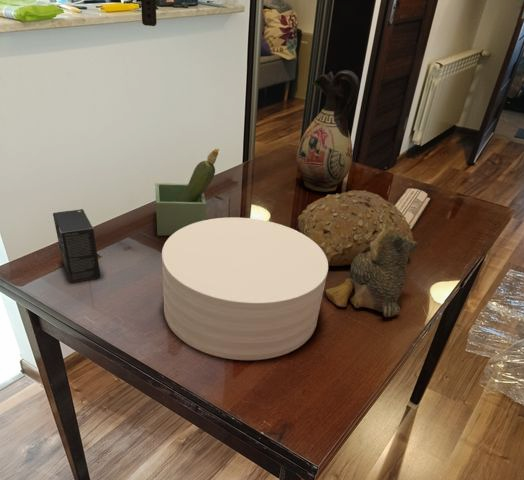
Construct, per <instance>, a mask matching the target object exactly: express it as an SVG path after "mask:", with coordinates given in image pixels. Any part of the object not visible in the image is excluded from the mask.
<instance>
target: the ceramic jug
mask: <svg viewBox="0 0 524 480" xmlns="http://www.w3.org/2000/svg"><path fill="white" fill-rule="evenodd" d="M342 80H345V81H347V82H349V84H350V94H349V96H348V98H347V100H346V103H345V106H344V108H343V110H342V111H341V108H340V107H341V106H340V100H345V98H346V97H345V96H346V93H345V90H344V88H343V86H342V84H341V81H342ZM312 85H313V86H314V87H316V88H318V89H319V90H321V92H323V94H324V96H325V97H326V101H325V104H324V107H323V108H322V109H321V111H320V112H319V113H318V114H317V115H316V117H315V118H314V119H313V121H311V123H310V124H309V126H308V127H307V128H306V130H305V132H304V133H303V135H302V137H301V140H300V142H299V145H298V149H297V151H296V157H295V159H296V160H295V161H296V168H297V171H298V173H299V175H300V176H301V178H302V180H303V184H304V186H305V187H306V188H307V189H310V190H312V191H315V192H323V193H324V192H326V193H327V192H335V191H336V190H337V188H338V185H339V184H340V183H341V182H342V181H343V180H345V179H346V177H347V176H348V175H349V173H350V171H351V168H352V165H353V156H354V154H353V151H354V149H353V142H352V138H351V135H350V131H349V123H348V122H349V121H348V117H349V115H350V112H351V110H352V108H353V106H354V104H355V102H356V100H357V98H358V95H359V91H360V79H359V77H358V76H357V74H356V73H355V72H353V71H351V70H347V69H343V70H340V71H338V72H337V73H336V74H335V75H334V73H333V71H330V72H328V73H327V74H325V73H322V74H321V75H320V76H318V77H317V78H316V80H314V81H313V82H312Z"/></svg>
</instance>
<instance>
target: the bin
mask: <svg viewBox="0 0 524 480" xmlns="http://www.w3.org/2000/svg"><path fill="white" fill-rule="evenodd" d="M188 184H189V183H169V182H167V183H166V182H155V183H154V186H155V187H154V188H155V211H156V214H155V215H156V233H157V235H156V236H169V237H170V236H171V235H172V234H174V233H175V232H176V231H178V230H180V229H181V228H183V227H185V226H188V225H190V224H193V223H196V222H200V221H204V220H207V202H206V197H205V192H204V193H203V194H202V195H201V196H200V197H199V199H198V200H197V201H196V202H176V200H177V199H178V198H179V196H180V195H181V194H182V193H183V192H184V190H185V189H186V187H187V185H188Z"/></svg>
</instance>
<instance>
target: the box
mask: <svg viewBox="0 0 524 480" xmlns="http://www.w3.org/2000/svg"><path fill="white" fill-rule="evenodd" d="M52 216H53V222H54V227H55V232H56V236H57V242H58V246H59V251H60V257H61V261H62V264H63V266H64V269H65V271H66V274H67V276H68V279H69V281H70V282H71V283H76V282H83V281H88V280H94V279H98V278H101V270H100V265H99V258H98V250H97V243H96V237H95V228H94V226H93V225H92V223H91V221H90V220H89V218H88V216H87V214H86V212H85V210H84V209H83V208H81V209H73V210H64V211H57V212H53V213H52Z"/></svg>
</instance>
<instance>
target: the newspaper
mask: <svg viewBox="0 0 524 480" xmlns="http://www.w3.org/2000/svg"><path fill="white" fill-rule="evenodd" d="M430 200H431V198H430V197H428V193H426V191H424V190H421V189H419V188H412V187H411V188H407V189H406V190H405V192H404V193H403V194H402V195H401V196H400V198H399V199H398V201H397V202H396V203H395V204H394V205H395V207H397V208H398V210H399V211H400V212H401V213H402V214H403V216H404V217H405V218H406V221H407V222H408V224H410V226H411V227H410V230H412V229H413V227H414V226H415V224H416V222H417V221H418V219H419V218H420V216H421V215H422V213H423V212H424V210H425V209H426V207H427V206H428V204H429V202H430Z"/></svg>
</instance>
